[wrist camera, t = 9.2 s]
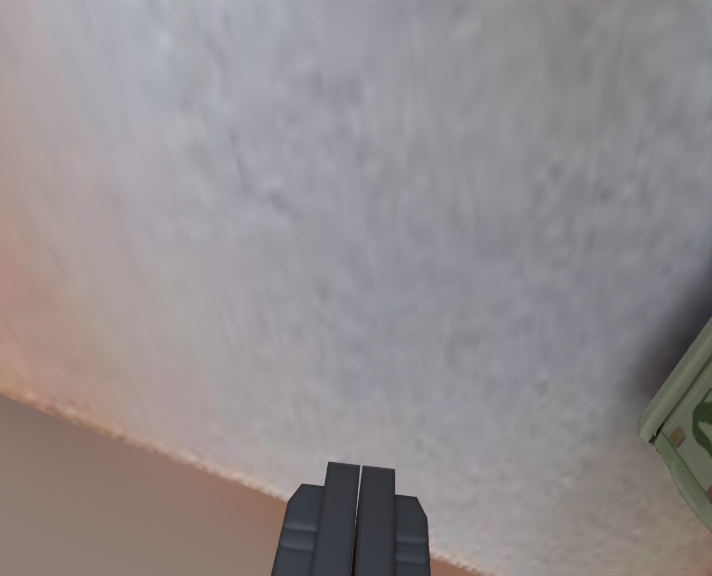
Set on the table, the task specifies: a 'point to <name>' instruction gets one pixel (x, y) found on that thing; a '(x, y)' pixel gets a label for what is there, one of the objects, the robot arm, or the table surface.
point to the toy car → (686, 425)
